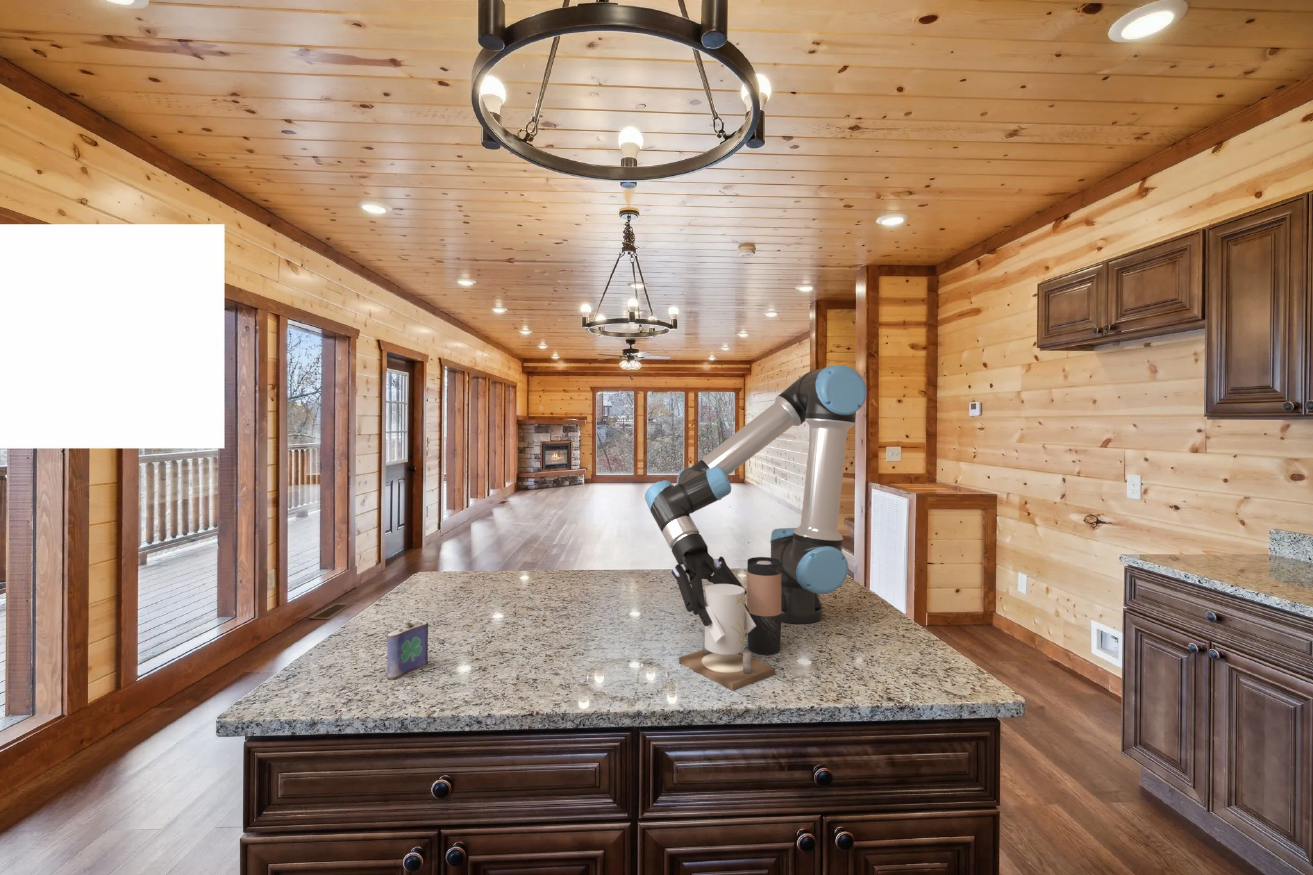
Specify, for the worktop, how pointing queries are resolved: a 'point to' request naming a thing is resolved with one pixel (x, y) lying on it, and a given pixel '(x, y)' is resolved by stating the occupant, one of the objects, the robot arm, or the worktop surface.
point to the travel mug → (764, 604)
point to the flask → (407, 649)
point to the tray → (727, 667)
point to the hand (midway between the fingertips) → (736, 634)
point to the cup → (726, 617)
